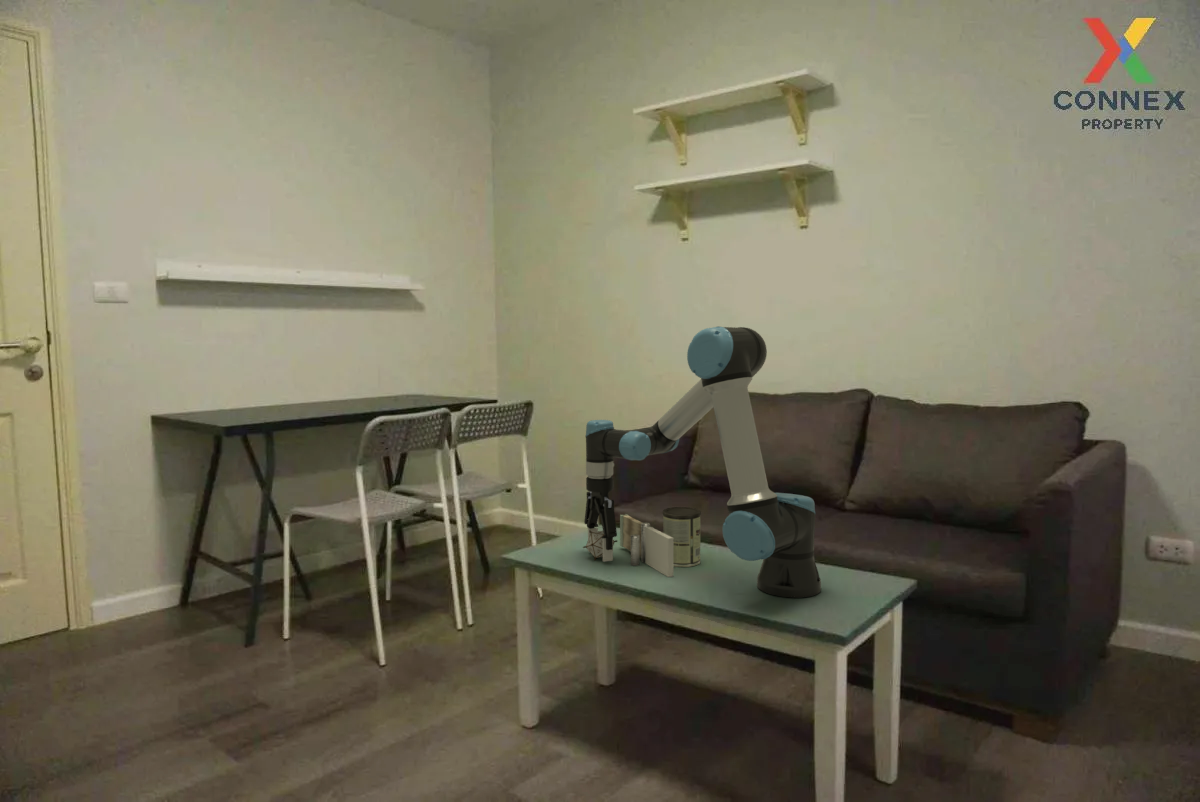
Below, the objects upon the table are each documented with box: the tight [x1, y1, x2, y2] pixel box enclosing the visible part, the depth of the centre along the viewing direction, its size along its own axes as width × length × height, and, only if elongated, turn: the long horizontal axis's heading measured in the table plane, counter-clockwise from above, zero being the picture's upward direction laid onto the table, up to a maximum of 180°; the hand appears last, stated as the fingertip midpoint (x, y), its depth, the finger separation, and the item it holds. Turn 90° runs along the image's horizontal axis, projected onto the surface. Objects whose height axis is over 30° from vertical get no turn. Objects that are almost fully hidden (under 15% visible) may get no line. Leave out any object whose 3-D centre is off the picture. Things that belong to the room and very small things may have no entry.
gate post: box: [640, 522, 651, 564], centre depth 210 cm, size 2×2×10 cm
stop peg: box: [630, 534, 641, 567], centre depth 207 cm, size 2×2×8 cm
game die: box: [582, 530, 618, 561], centre depth 214 cm, size 9×8×10 cm
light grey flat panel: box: [644, 526, 674, 578], centre depth 203 cm, size 13×2×10 cm, turn 23°
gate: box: [619, 513, 643, 558], centre depth 217 cm, size 13×2×9 cm, turn 23°
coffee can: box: [662, 506, 702, 568], centre depth 210 cm, size 10×10×14 cm
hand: (600, 555), depth 214 cm, fingers closed on game die, 10 cm apart
